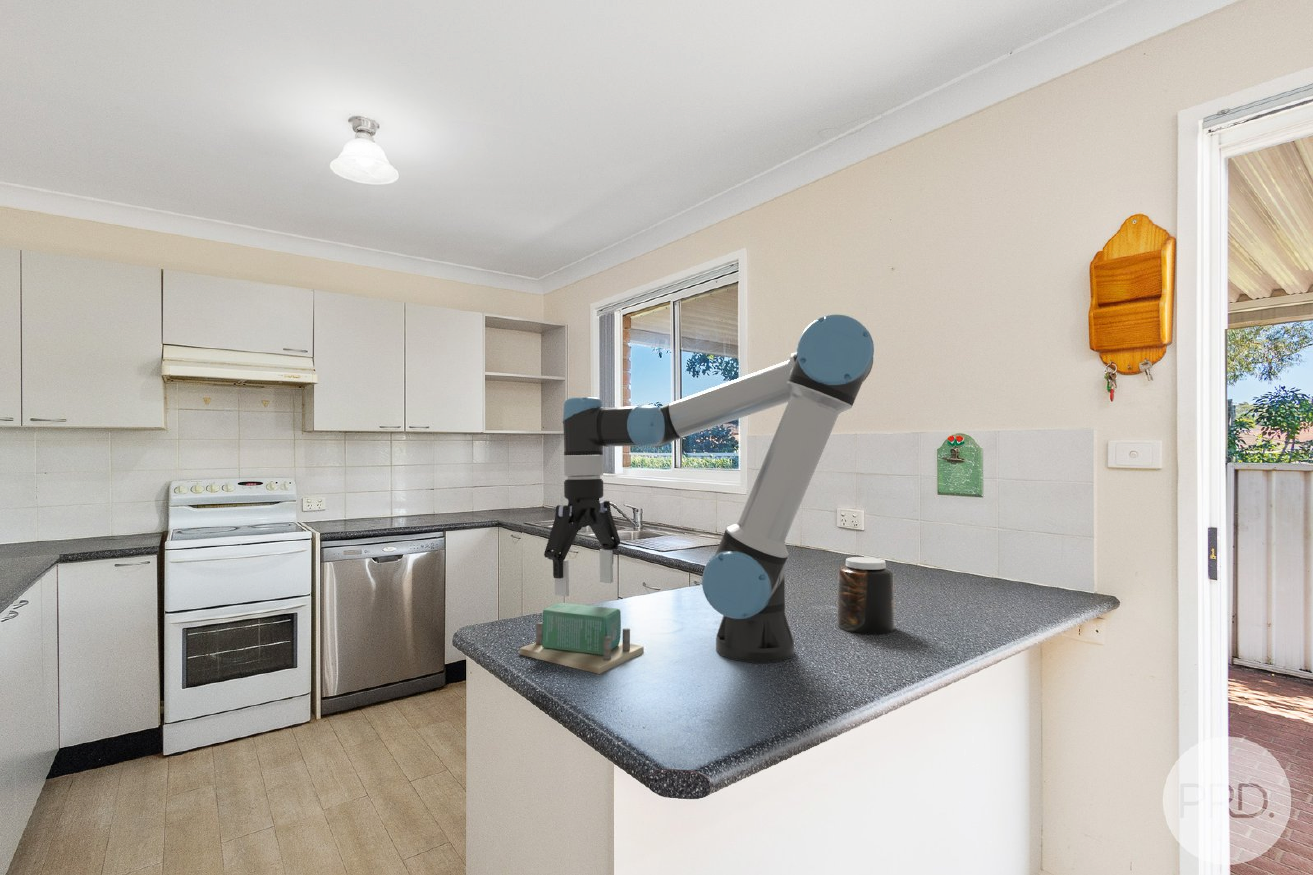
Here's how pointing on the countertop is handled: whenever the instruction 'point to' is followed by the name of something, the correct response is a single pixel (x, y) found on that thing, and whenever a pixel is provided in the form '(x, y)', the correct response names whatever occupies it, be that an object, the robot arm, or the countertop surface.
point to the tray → (584, 659)
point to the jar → (866, 596)
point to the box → (580, 627)
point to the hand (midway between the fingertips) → (585, 588)
